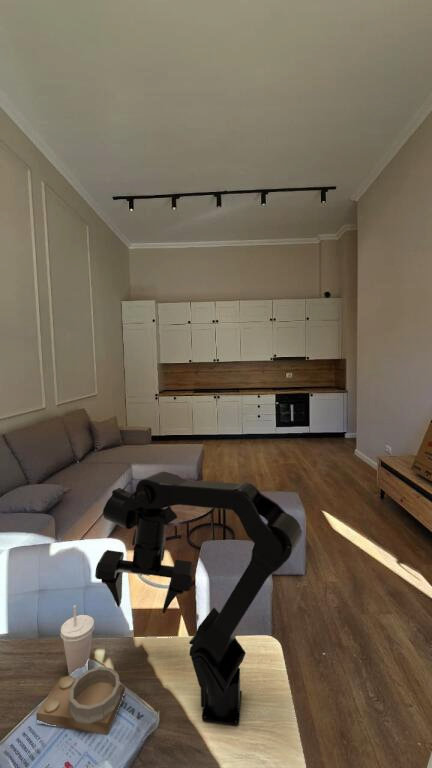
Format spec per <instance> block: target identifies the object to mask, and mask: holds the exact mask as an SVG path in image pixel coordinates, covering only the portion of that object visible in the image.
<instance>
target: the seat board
mask: <svg viewBox="0 0 432 768" xmlns="http://www.w3.org/2000/svg"><path fill="white" fill-rule="evenodd" d="M124 691H125V692H126V685H125V684H123V683H122V684H121V683H120V676H119V673H117V672H116V671H115V670H114V669H113V668H112V667H106V666H97V667H95V668H91V669H88V671H86V672H85V673H83V674H82V675H81V676H79V677H78V678H77V679H75V678H73V677H72V676H69V675H67V676H60V678H59V679H58V680H57V682H56V683H55V685H54V686H53V687H52V689H51V691H50V692H49V694H48V695H47V697H46V698H45V700H44V701H43V702H42V704H41V705H40V707H39V708H38V710H36V713H35V714H36V721H37V720H39V721H42V722H44V723H47V724H50V725H56V726H59V727H58V728H60V727H62V728H61V729H67V730H74V731H81V732H86V733H94V734H100V735H108V734H109V732H110V729H111V727H112V725H113V723H114V721H115V719H114V718H116V716H117V714H116V713H118V712H117V710H118V707H119V705H120V702H121V700H122V697H123V694H124ZM120 706H121V705H120ZM119 708H120V707H119ZM118 711H119V710H118ZM115 715H116V716H115Z"/></svg>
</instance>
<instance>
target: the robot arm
mask: <svg viewBox="0 0 432 768" xmlns="http://www.w3.org/2000/svg"><path fill="white" fill-rule="evenodd" d="M178 505H179V506H186V507H188V506H190V507H198V508H209V509H219V510H230V511H232V512H234V513H235V515H236V516H237V517H238V519H239V520H240V523H241V524H242V527H243V529H244V531H245V533H246V535H247V537H248V538H249V539H250V540H251V541H252V542H253V543H254V544H253V548H252V550H251V556H250V561H249V564H248V565H247V567H246V569H245V570H244V572H243V573H242V575H241V577H240V578H239V580H238V582H237V583H236V585H235V587H234V588H233V590H232V592H231V594H230V595H229V596H228V598H227V600H226V602H225V603H224V605H223V606H222V608H221V610H220V611H218V610H217V608H216V607H213V608H212V609H211V610H210V611H209V613H208V614H207V615H206V616H205V618H204V619H203V621H202V622H201V623H200V625H199V626H198V627H197V630H196V632H195V634H194V635H193V636H192V637H191V639H190V640H189V642H188V643H189V644H190V645H191V646H190V648H189V654H188V655H189V656H190V659H191V662H192V665H193V666H192V667H193V669H194V672H195V676H196V679H197V682H198V686H199V688H200V707H201V708H202V714H201V721H203V722H206V723H207V722H209V723H215V724H216V723H217V724H223V725H231V726H236V727H237V726H238V725H239V724H240V718H241V717H240V715H241V707H242V706H241V705H242V690H241V667H240V666H241V664H242V663H243V661H244V659H245V657H246V651H245V649H244V648H243V647H242V645H241V643H240V642H239V641H238V640H237V639H236V636H237V634H238V629H239V625H240V622H241V621H242V619H243V617H244V616H245V614H246V612H247V611H248V609H249V608H250V606H251V605H252V603H253V601H254V600H255V598H256V597H257V596H258V593H259V592H260V590H261V589H262V587H263V585H264V584H265V582H266V581H267V579H268V578H269V577H271V576H272V575H273V574H274V573H276V572H277V571H278V570H279V569H280V568H281V567H282V566H283V565H284V564H285V563H286V562H287V561H288V560H289V559H290V558H291V556H292V554H293V552H294V550H295V549H296V547H297V545H298V543H299V542H300V540H301V538H302V536H303V535H302V533H303V531H302V528H301V525H300V523H299V522H298V520H297V519H296V518H295V517H294V516H293V515H291V514H289V513H287V512H286V511H285V510H284V509H283V508H282V507H281V506H280V505H279V504H278V503H277V502H276V501H274V500H272V499H270V498H269V497H268V496H266V495H264V494H263V493H262V492H260V490H259V489H258V488H257V487H256V486H255V485H253V484H252V483H249V482H243V483H236V482H235V483H234V482H232V483H231V482H218V481H205V480H189V479H185V478H183V477H180V476H179V475H178V474H175V473H171V472H167V471H159V472H156V473H154V474H152V475H150V476H147V477H145V478H143V479H141V480H139V481H138V483H137V484H136V486H135V491H134V492H132V493H131V492H129V491H127V490H125V489H124V488H121V487H117V488H115V489H113V490H112V493H111V495H110V497H109V498H108V499H107V501H106V503H105V505H104V507H103V509H102V510H103V511H102V515H103V518H104V520H107V521H109V522H111V523H113V524H115V525H118V526H120V527H122V528H125V529H127V530H130V529H132V528H134V527H135V526H136V529H134V533H133V537H132V542H131V545H132V546H133V553H132V554H133V555H132V560H125V559H124V558H125V554H124V553H125V552H123V551H118V550H116V551H115V550H111V549H110V550H109V549H107V550H105V551H103V554H102V555H101V557H100V558H99V560H98V562H97V564H96V567H95V575H94V577H95V578H96V580H101V584H105V585H106V586H107V587H106V588H108V590H109V591H110V593H111V595H112V597H113V600H114V602H115V604H116V606H117V607H121V603H122V598H123V597H122V596H123V575H124V574H123V573H127V574H133V575H141V576H148V577H149V576H155V577H162V578H169V579H170V581H169V584H168V588H167V592H166V595H165V599H164V603H163V607H162V614H165V613H166V611H167V610H168V608H169V606H170V605H171V603H172V602H173V600H174V599H175V598H176V597H177V596H178V595H182V594H184V592H189V591H191V589H192V581H193V574H194V566H195V565H194V563H193V562H192V561H189V560H181V559H175V560H174V565H167V564H162V562H163V561H164V559H165V552H166V551H165V550H166V539H167V536H166V529H167V526H168V525H170V524H171V523H172V522H174V521H175V520H176V519H178V515H177V514H176V512H175V511H174V510H173V509H172V508H171V507H173V506H178ZM262 517H263V518H264V519H265V520H266V521H267V523H265V521H263V519H262Z"/></svg>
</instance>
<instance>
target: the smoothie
mask: <svg viewBox="0 0 432 768" xmlns="http://www.w3.org/2000/svg"><path fill="white" fill-rule="evenodd" d="M72 611H73V616H72V617H70V618H69V619H67V620H66V621H65V622H64V623H63V624H62V625H61V627H60V637H61V638H62V641H63V646H64V653H65V659H66V665H67V671H68V676H69V675H70V674H71V673H72V672H74V671H75V670H76V669H78V668H82V667H84V666H85V664H86V662H87V660H88V659H89V660H90V658H91V647H92V638H93V631H94V629H95V620H94V618H93V617H92V616H90V615H87V614H80V615H77V605H76V604H74V605H73V609H72Z"/></svg>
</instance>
